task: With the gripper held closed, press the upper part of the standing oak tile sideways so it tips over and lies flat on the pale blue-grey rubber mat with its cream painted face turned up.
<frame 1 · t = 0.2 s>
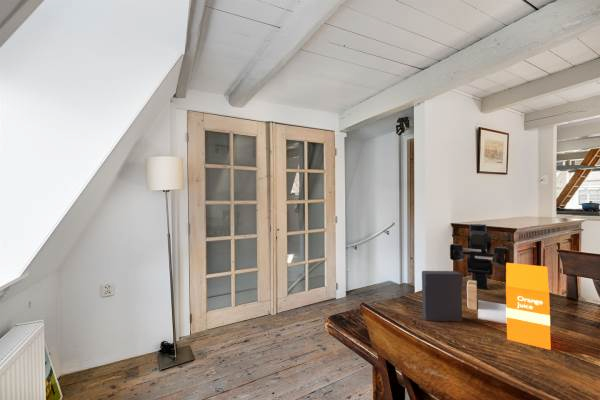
hand: (477, 258, 98), 17 cm above the table, tool horizontal, fingers open, 9 cm apart
mat: (507, 314, 90), on the table
tile: (472, 305, 98), on the table
orange juice: (528, 339, 74), on the table
charcoal upright rounded slab: (441, 319, 87), on the table
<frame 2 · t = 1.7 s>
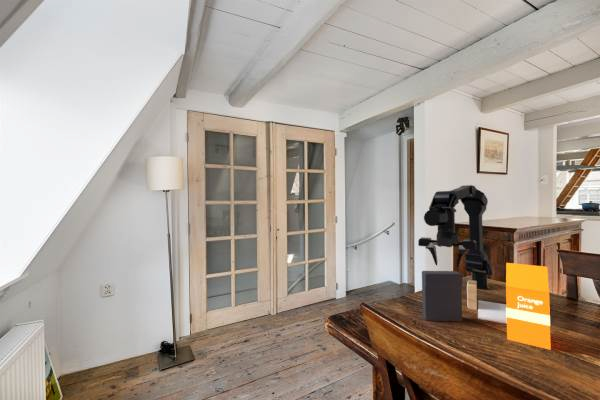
hand: (446, 266, 103), 13 cm above the table, tool pointing down, fingers open, 7 cm apart
nothing on the table moved.
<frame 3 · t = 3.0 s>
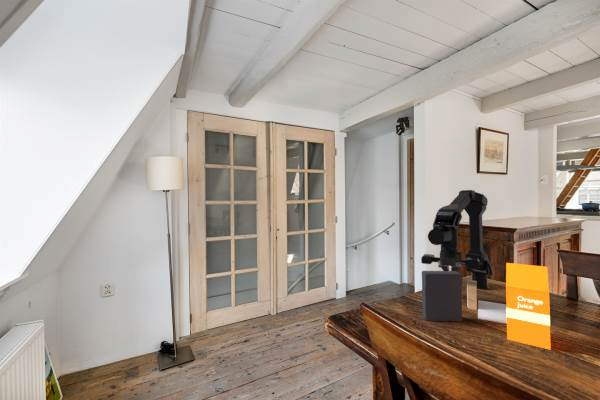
hand: (450, 284, 102), 7 cm above the table, tool pointing down, fingers closed
nothing on the table moved.
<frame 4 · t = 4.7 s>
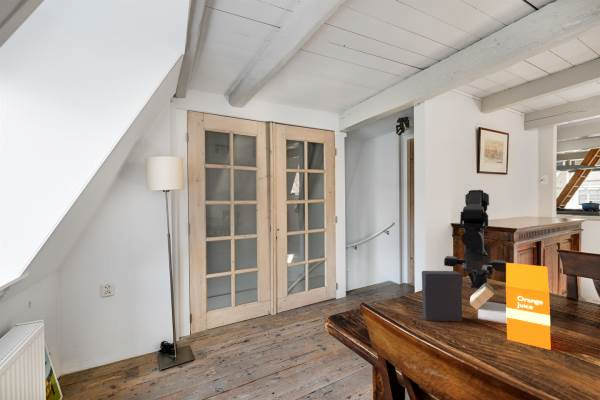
hand: (474, 287, 98), 6 cm above the table, tool pointing down, fingers closed
tile: (473, 303, 98), point 1 cm above the table, tilted 38°
everything else where it was.
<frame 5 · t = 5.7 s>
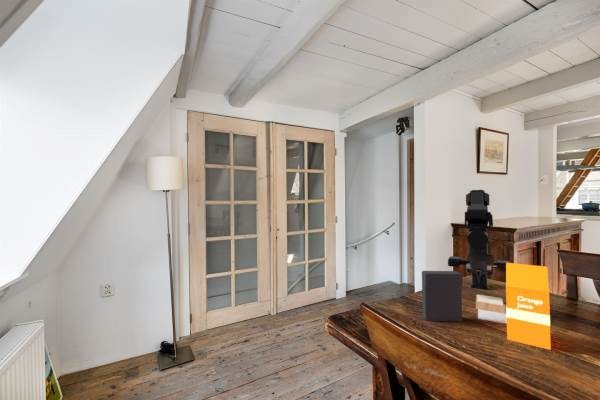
hand: (478, 288, 97), 6 cm above the table, tool pointing down, fingers closed
tile: (476, 301, 98), point 2 cm above the table, tilted 90°, touching mat
everything else where it was.
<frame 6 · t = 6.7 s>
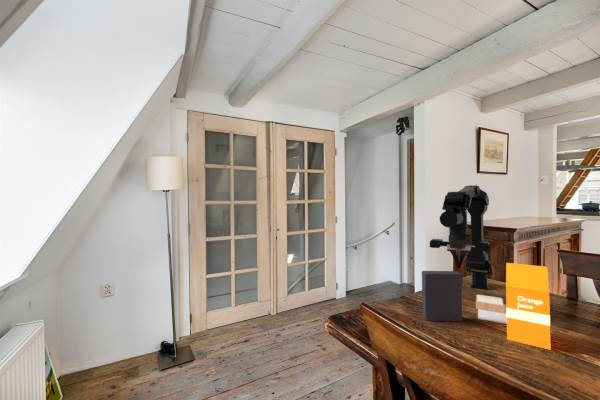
hand: (459, 268, 100), 13 cm above the table, tool pointing down, fingers closed
nothing on the table moved.
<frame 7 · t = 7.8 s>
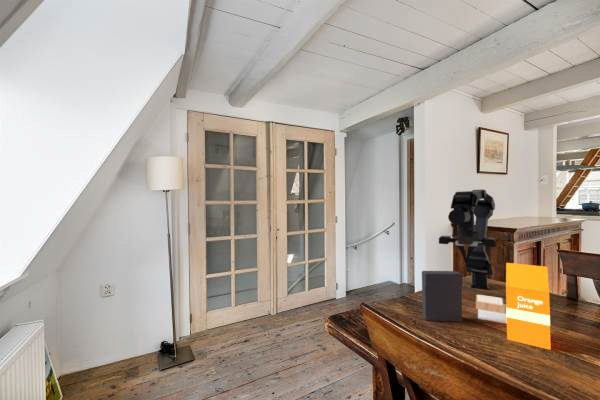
hand: (466, 263, 108), 13 cm above the table, tool pointing down, fingers closed
nothing on the table moved.
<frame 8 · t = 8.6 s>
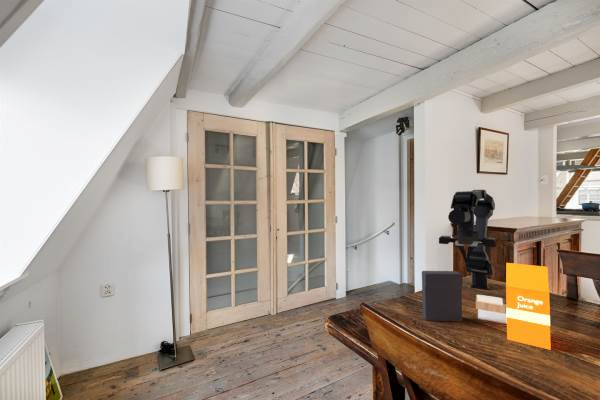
hand: (466, 263, 108), 13 cm above the table, tool pointing down, fingers closed
nothing on the table moved.
at the end: tile tilted 90°; tile inside the target area (2.0 cm from its centre), point 1.5 cm above the table; tile touching mat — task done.
